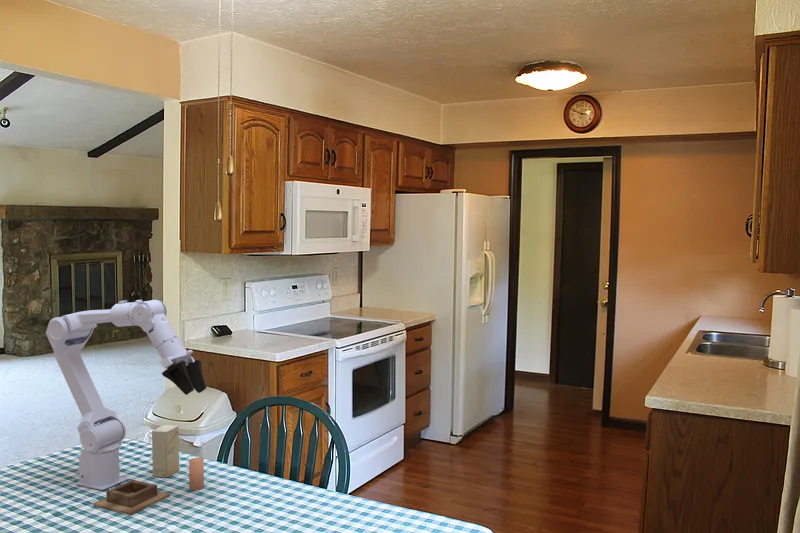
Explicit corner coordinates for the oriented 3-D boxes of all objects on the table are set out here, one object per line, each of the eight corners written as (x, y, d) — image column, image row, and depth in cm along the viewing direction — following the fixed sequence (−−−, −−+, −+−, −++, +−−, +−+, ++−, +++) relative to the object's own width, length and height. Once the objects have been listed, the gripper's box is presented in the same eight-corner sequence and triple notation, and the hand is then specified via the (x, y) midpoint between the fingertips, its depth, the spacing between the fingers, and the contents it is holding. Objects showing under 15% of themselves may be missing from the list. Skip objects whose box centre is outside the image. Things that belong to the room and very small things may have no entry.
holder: (93, 505, 154) (92, 492, 154) (133, 487, 165) (133, 475, 165) (131, 515, 149) (130, 502, 149) (170, 496, 160) (169, 483, 160)
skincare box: (167, 478, 172) (166, 432, 171) (151, 476, 173) (151, 431, 172) (179, 469, 178) (179, 425, 177) (164, 468, 179) (164, 424, 178)
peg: (186, 488, 165) (186, 461, 165) (196, 483, 168) (195, 456, 168) (197, 491, 164) (196, 463, 163) (206, 486, 167) (206, 458, 166)
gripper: (168, 333, 152) (198, 383, 150) (193, 335, 166) (221, 380, 164) (143, 350, 152) (172, 400, 150) (170, 351, 166) (197, 396, 164)
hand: (196, 391), depth 157 cm, fingers open, 7 cm apart
